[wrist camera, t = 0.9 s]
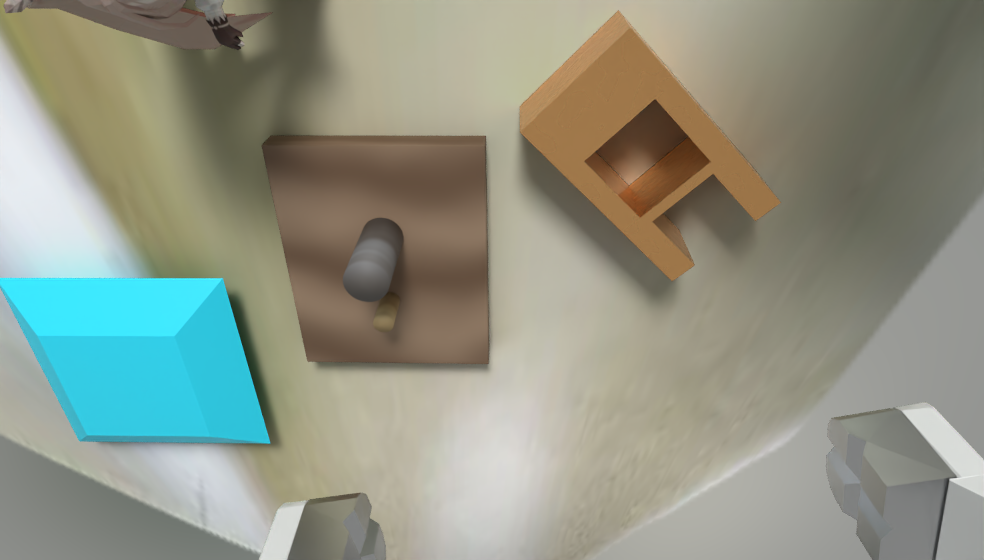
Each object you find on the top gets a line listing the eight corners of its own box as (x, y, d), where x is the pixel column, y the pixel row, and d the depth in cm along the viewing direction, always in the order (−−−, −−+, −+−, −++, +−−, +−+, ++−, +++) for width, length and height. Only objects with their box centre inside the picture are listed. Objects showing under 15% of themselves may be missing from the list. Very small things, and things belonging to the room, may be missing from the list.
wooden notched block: (519, 106, 35) (520, 132, 31) (618, 10, 32) (630, 27, 29) (658, 245, 39) (672, 281, 36) (756, 171, 36) (780, 202, 33)
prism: (23, 257, 42) (-29, 295, 38) (238, 258, 41) (207, 297, 37) (96, 421, 49) (58, 467, 45) (279, 424, 48) (257, 471, 44)
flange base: (270, 135, 36) (226, 183, 31) (485, 136, 36) (479, 184, 30) (313, 347, 44) (284, 415, 39) (489, 349, 44) (485, 418, 38)
